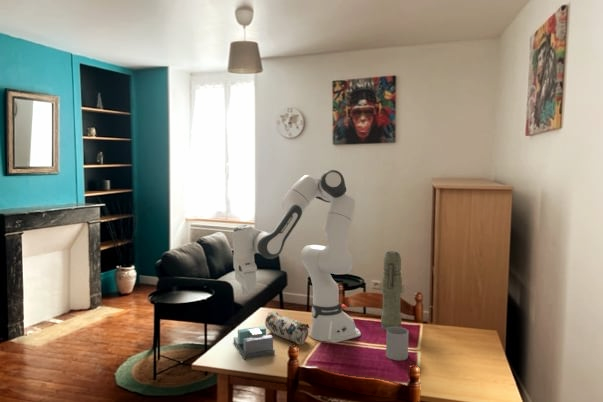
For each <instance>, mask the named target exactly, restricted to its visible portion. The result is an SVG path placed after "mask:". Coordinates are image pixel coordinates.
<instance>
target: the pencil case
mask: <svg viewBox="0 0 603 402" xmlns="http://www.w3.org/2000/svg"><path fill="white" fill-rule="evenodd" d="M264 324H265V328H266V330H268V331H269V332H270V333H271V334H274V335H276V336H278V337H281V338H282V339H285V340H287V341H290V342H293V343H294V344H296V345H304V344H305V342H306V340H307V339H308V336H309V329H310V326H309V324H308V323H305V322H302V321H299V320H297V319H296V320H295V319H292V318H290V317H287V316H284V315H280V314H279V313H278V312H276V311H273V310H270V311H268V312H267V315H266V318H265V322H264Z"/></svg>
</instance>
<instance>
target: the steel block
mask: <svg viewBox="0 0 603 402" xmlns="http://www.w3.org/2000/svg"><path fill="white" fill-rule="evenodd" d="M258 336H262V332H261V331H260V330H259V329H258V328H255V329H248V338H251V337H258Z"/></svg>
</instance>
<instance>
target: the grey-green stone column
mask: <svg viewBox="0 0 603 402" xmlns="http://www.w3.org/2000/svg"><path fill="white" fill-rule="evenodd" d="M400 254H401V253H400V252H398V251H392V250H391V251H387V252H385V255H384V256H383V276H382V278H381V291H382V313H381V318H380V323H381V330H383V331H384V332H387V328H389V327H402V315H401V295H402V292H403V289H402V288H403V278H402V275H401V273H402V272H401V270H402V259H401V255H400Z"/></svg>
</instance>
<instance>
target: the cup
mask: <svg viewBox="0 0 603 402" xmlns="http://www.w3.org/2000/svg"><path fill="white" fill-rule="evenodd" d="M385 336H386V342H385V343H386V344H385V346H386V347H385V356H386V357H387V358H388V359H390V360H394V361H405V360H407V359H408V357H409V330H408V329H407V328H404V327H402V326H401V327H389V328H387V331H386V335H385Z"/></svg>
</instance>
